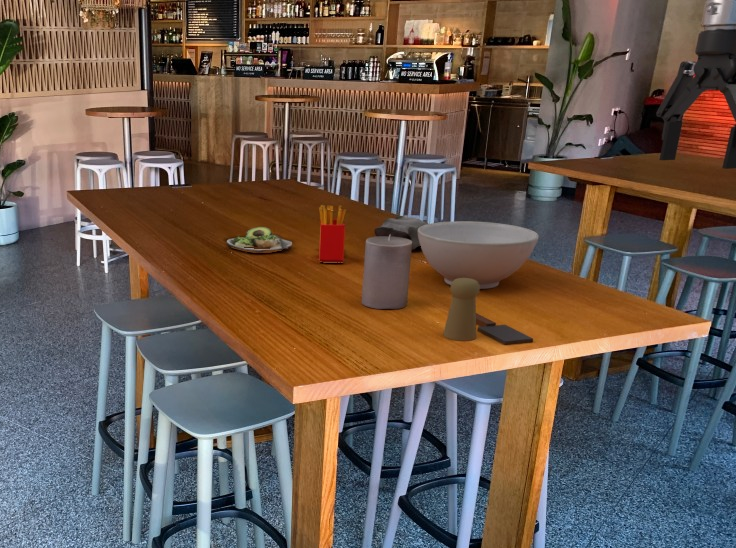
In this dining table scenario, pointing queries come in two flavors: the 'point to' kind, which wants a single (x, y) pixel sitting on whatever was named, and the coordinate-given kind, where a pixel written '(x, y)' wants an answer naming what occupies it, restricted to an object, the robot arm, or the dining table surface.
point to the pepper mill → (462, 310)
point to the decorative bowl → (476, 250)
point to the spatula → (501, 332)
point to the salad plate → (259, 241)
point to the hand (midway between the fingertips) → (697, 164)
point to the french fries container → (331, 235)
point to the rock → (401, 228)
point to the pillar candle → (386, 272)
